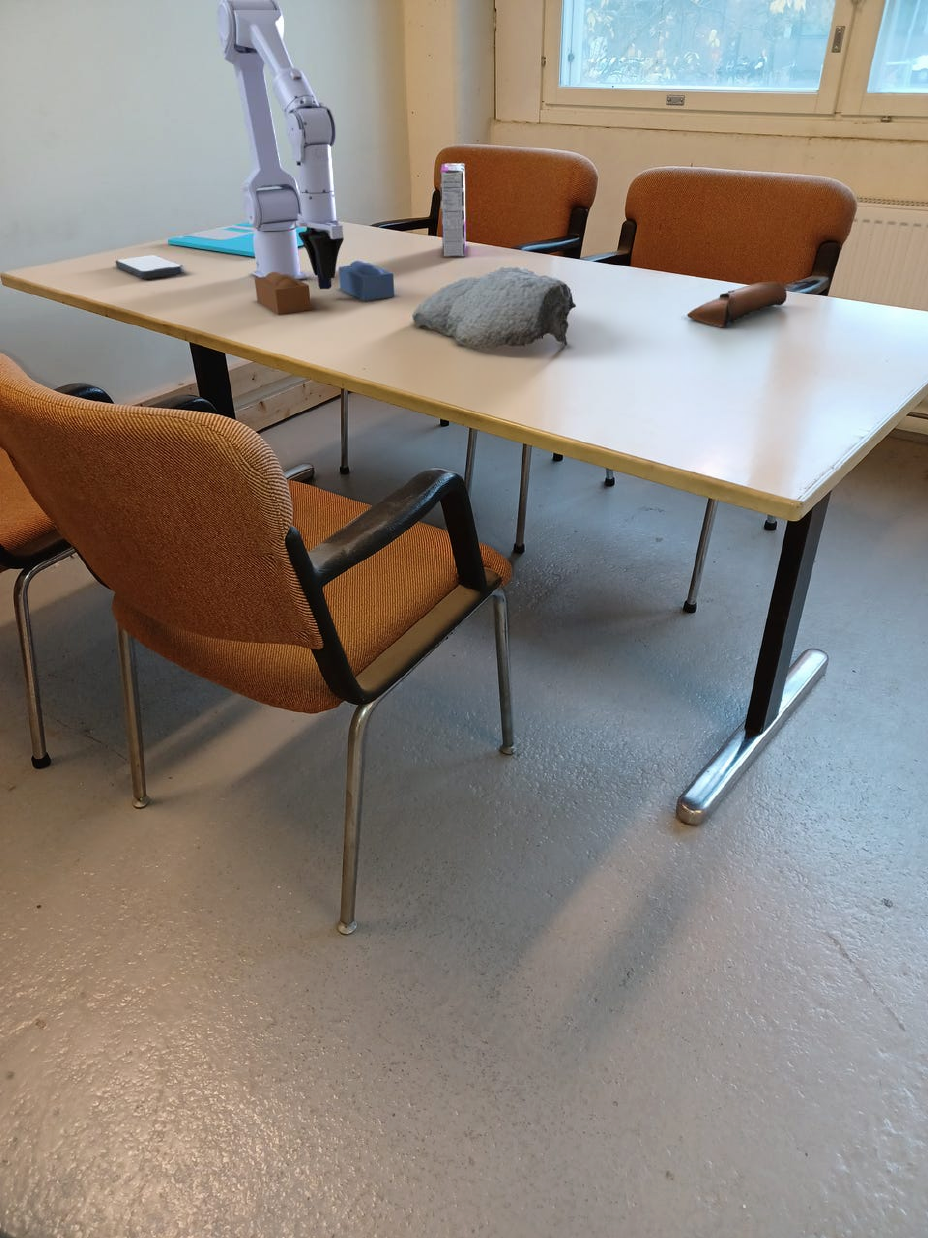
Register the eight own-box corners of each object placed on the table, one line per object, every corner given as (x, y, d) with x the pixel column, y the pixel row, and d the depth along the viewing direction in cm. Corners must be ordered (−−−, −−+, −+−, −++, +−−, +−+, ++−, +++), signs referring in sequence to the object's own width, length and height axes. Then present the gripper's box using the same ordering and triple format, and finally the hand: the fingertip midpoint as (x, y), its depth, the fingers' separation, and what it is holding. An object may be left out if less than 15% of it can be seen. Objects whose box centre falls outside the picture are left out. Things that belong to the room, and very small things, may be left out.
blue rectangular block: (340, 289, 162) (338, 260, 159) (369, 285, 165) (367, 256, 162) (364, 301, 155) (362, 271, 152) (394, 296, 158) (393, 267, 155)
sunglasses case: (741, 295, 154) (764, 263, 149) (768, 323, 153) (793, 292, 147) (683, 315, 144) (706, 282, 138) (712, 345, 142) (737, 313, 137)
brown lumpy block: (257, 301, 155) (253, 271, 153) (289, 297, 158) (286, 267, 155) (278, 314, 148) (274, 283, 145) (311, 309, 151) (308, 278, 148)
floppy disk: (258, 257, 185) (257, 252, 184) (167, 243, 197) (166, 239, 197) (338, 236, 203) (338, 232, 202) (250, 225, 216) (249, 221, 215)
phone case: (114, 268, 179) (143, 280, 169) (112, 259, 178) (141, 271, 168) (156, 262, 184) (187, 274, 173) (155, 254, 183) (185, 265, 172)
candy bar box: (443, 246, 194) (441, 162, 185) (465, 246, 194) (465, 162, 185) (441, 257, 184) (439, 170, 175) (465, 257, 184) (464, 169, 175)
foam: (398, 322, 144) (394, 263, 139) (501, 300, 154) (501, 244, 149) (504, 365, 125) (505, 298, 119) (614, 337, 135) (619, 274, 130)
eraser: (320, 286, 156) (316, 245, 153) (333, 286, 156) (329, 245, 152) (317, 289, 155) (313, 247, 151) (330, 289, 154) (326, 247, 150)
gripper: (277, 187, 150) (287, 271, 158) (311, 198, 140) (320, 287, 147) (316, 183, 153) (323, 266, 161) (352, 194, 143) (358, 282, 150)
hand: (324, 276), depth 154 cm, fingers closed on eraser, 3 cm apart
